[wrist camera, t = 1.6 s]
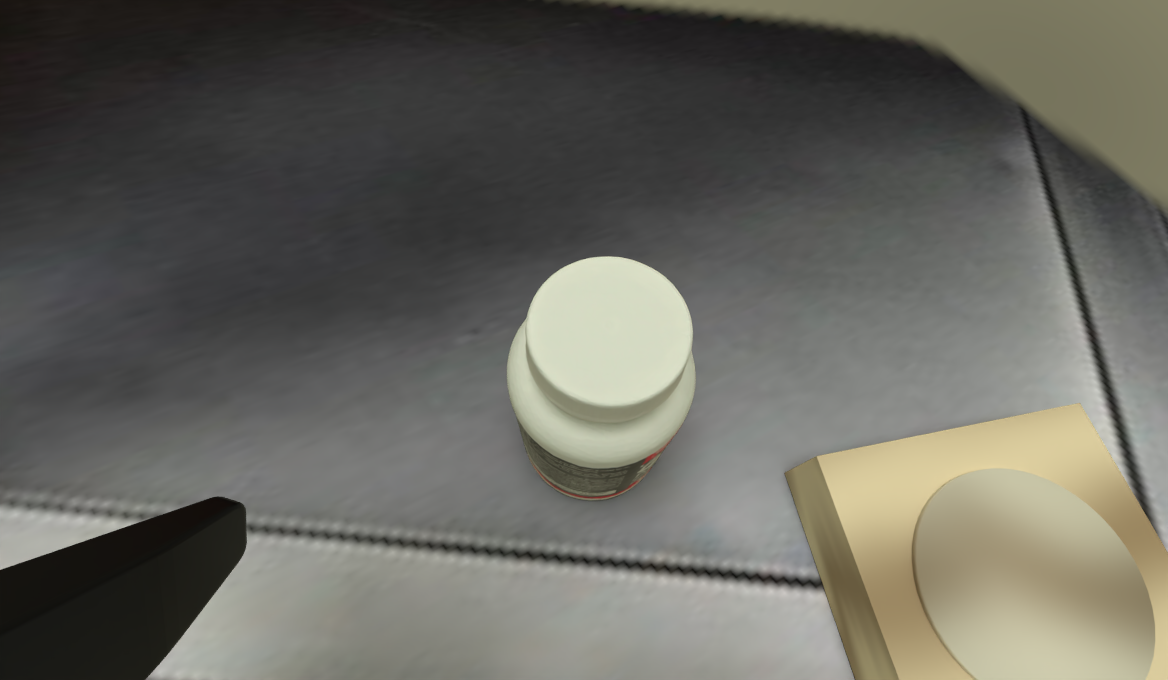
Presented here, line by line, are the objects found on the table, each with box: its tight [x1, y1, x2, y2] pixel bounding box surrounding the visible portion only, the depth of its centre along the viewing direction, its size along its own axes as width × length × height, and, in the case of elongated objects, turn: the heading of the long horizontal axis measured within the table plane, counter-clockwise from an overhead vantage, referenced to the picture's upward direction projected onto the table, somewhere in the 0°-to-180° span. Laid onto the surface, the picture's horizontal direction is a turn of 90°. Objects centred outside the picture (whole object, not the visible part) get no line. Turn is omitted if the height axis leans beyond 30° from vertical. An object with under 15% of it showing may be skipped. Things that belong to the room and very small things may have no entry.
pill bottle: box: [507, 257, 696, 501], centre depth 17 cm, size 5×5×10 cm
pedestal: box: [785, 403, 1168, 680], centre depth 18 cm, size 10×10×3 cm
